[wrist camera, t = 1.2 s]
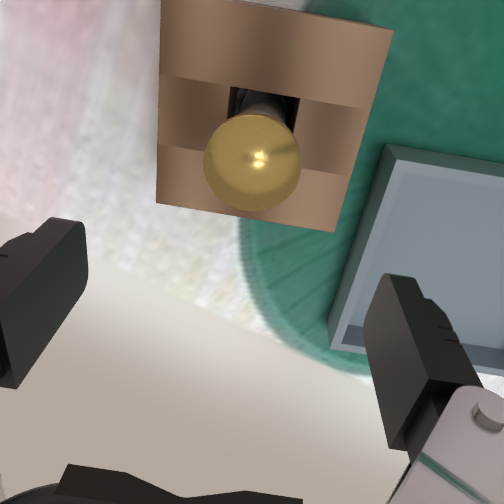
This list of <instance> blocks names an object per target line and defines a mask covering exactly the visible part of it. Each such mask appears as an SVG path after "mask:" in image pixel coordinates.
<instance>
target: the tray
mask: <svg viewBox="0 0 504 504" xmlns="http://www.w3.org/2000/svg"><path fill="white" fill-rule="evenodd" d="M384 273H390V274H396V275H402V276H408V277H413V278H415V279H416V281H417V283H418V285H419V287H420V289H421V291H422V293H423V296H424V298H427V299H432V300H433V301H434V302H435V303H436V304H437V305H438V306H439V307H440V308H441V309H442V310H443V311H444V312H445V313H446V315H447V317H448V319H449V321H450V323H451V325H452V327H453V331H455V332H456V334H457V336H458V338H459V340H460V344H462V346H463V348H464V350H465V352H466V354H467V356H468V358H469V360H470V362H471V364H472V366H473V367H474V369H475V371H476V372H478V373H485V374H491V375H497V376H503V377H504V164H503V163H497V162H492V161H486V160H480V159H474V158H468V157H462V156H457V155H451V154H445V153H439V152H433V151H428V150H422V149H416V148H410V147H404V146H398V145H393V144H387V143H386V144H385V147H384V150H383V153H382V156H381V159H380V162H379V165H378V168H377V171H376V174H375V177H374V180H373V183H372V186H371V189H370V192H369V195H368V198H367V201H366V204H365V207H364V210H363V213H362V216H361V219H360V222H359V225H358V228H357V231H356V235H355V238H354V241H353V244H352V247H351V250H350V253H349V256H348V259H347V262H346V265H345V268H344V271H343V274H342V277H341V280H340V283H339V286H338V289H337V292H336V295H335V298H334V301H333V304H332V307H331V310H330V313H329V316H328V319H327V330H328V338H329V346H330V349H336V350H342V351H348V352H354V353H360V354H367V352H366V348H365V344H364V339H363V325H364V320H365V316H366V314H367V311H368V309H369V306H370V303H371V301H372V298H373V296H374V293H375V291H376V288H377V286H378V283H379V281H380V279H381V277H382V275H383V274H384Z"/></svg>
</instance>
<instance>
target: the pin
mask: <svg viewBox="0 0 504 504" xmlns="http://www.w3.org/2000/svg"><path fill="white" fill-rule="evenodd" d="M203 167H204V173H205V177H206V180H207V182H208V184H209V186H210V188H211V189H212V191H213V192H214V193H215V194H216V195H217V196H218V198H220V199H221V200H222V201H223V202H225V203H226V204H228V205H230V206H232V207H234V208H237V209H240V210H244V211H263V210H267V209H270V208H273V207H275V206H277V205H279V204H280V203H282V202H283V201H284V200H286V199H287V198H288V197H289V196H290V194H291V193H292V192H293V191H294V189H295V187H296V185H297V183H298V181H299V178H300V173H301V156H300V149H299V145H298V143H297V140H296V138H295V137H294V135H293V133H292V132H291V131H290V129H289V128H288V127H287V126H286V125H285V98H284V95H279V94H273V93H268V92H262V91H256V90H250V89H249V90H248V91H247V93H246V95H245V97H244V99H243V102H242V104H241V107H240V109H239V111H238V114H237V115H235V116H233V117H231V118H229V119H227V120H226V121H224V122H223V123H222V124H221V125H220V126H219V127H218V128H217V129H216V130H215V132H214V133H213V135H212V136H211V138H210V140H209V142H208V144H207V146H206V149H205V152H204V158H203Z"/></svg>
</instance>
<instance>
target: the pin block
mask: <svg viewBox="0 0 504 504" xmlns="http://www.w3.org/2000/svg"><path fill="white" fill-rule="evenodd" d="M393 33H394V30H391V29H388V28H384V27H381V26H377V25H374V24H369V23H363V22H358V21H352V20H346V19H341V18H335V17H329V16H324V15H318V14H313V13H307V12H301V11H296V10H290V9H284V8H279V7H273V6H267V5H262V4H256V3H251V2H245V1H239V0H161V23H160V62H159V102H158V141H157V180H156V203H160V204H166V205H172V206H178V207H184V208H190V209H196V210H202V211H208V212H214V213H220V214H226V215H232V216H238V217H244V218H250V219H256V220H262V221H268V222H274V223H280V224H286V225H292V226H298V227H304V228H310V229H316V230H322V231H328V232H335V228H336V225H337V221H338V218H339V215H340V211H341V208H342V205H343V201H344V198H345V195H346V191H347V188H348V184H349V181H350V178H351V174H352V171H353V168H354V164H355V161H356V158H357V154H358V151H359V148H360V144H361V141H362V137H363V134H364V131H365V127H366V124H367V121H368V117H369V114H370V111H371V107H372V104H373V101H374V97H375V94H376V90H377V87H378V84H379V80H380V77H381V74H382V70H383V67H384V64H385V60H386V57H387V54H388V50H389V47H390V43H391V40H392V37H393ZM238 87H239V88H245V89H250V90H256V91H262V92H268V93H273V94H279V95H285V96H291V97H294V102H293V107H292V113H291V118H290V123H289V129H290V131H291V132H292V133H293V135H294V137H295V138H296V140H297V143H298V145H299V149H300V156H301V173H300V178H299V181H298V183H297V185H296V187H295V189H294V191H293V192H292V193H291V194H290V196H289V197H288V198H287V199H286V200H284V201H283V202H282V203H280V204H279V205H277V206H275V207H273V208H270V209H267V210H263V211H244V210H240V209H237V208H234V207H232V206H230V205H228V204H226V203H225V202H223V201H222V200H221V199H220V198H218V196H217V195H216V194H215V193H214V192H213V191H212V189H211V188H210V186H209V184H208V182H207V180H206V177H205V173H204V167H203V158H204V152H205V149H206V146H207V144H208V142H209V140H210V138H211V136H212V135H213V133H214V132H215V130H216V129H217V128H218V127H219V126H220V125H221V124H222V123H223V122H224V121H226V120H227V119H229V118H231V117H233V116H235V109H236V101H237V93H238Z"/></svg>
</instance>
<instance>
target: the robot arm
mask: <svg viewBox="0 0 504 504" xmlns="http://www.w3.org/2000/svg"><path fill="white" fill-rule="evenodd" d="M87 280H88V259H87V246H86V234H85V227H84V224H83V223H82V222H79V221H73V220H67V219H61V218H55V217H51V218H49V219H48V220H47V221H46V222H45V223H43V224H42V225H41V226H40V227H39V228H38V229H37V230H36V231H35V232H34V233H29V232H27V233H25V234H22V235H20V236H18V237H16V238H13V239H11V240H9V241H7V242H6V243H5V244H4V245H3V246H2V247H0V387H4V388H11V389H17V388H18V387H19V385H20V384H21V383H22V381H23V380H24V378H25V377H26V375H27V374H28V372H29V370H30V369H31V368H32V366H33V365H34V363H35V362H36V361H37V359H38V358H39V356H40V355H41V353H42V352H43V350H44V349H45V347H46V346H47V344H48V343H49V342H50V340H51V339H52V337H53V336H54V334H55V333H56V331H57V330H58V328H59V327H60V326H61V324H62V323H63V321H64V320H65V318H66V317H67V315H68V314H69V312H70V311H71V309H72V308H73V307H74V305H75V304H76V302H77V301H78V299H79V298H80V296H81V295H82V293H83V291H84V290H85V287H86V284H87ZM363 339H364V344H365V348H366V352H367V357H368V361H369V365H370V370H371V374H372V378H373V382H374V387H375V391H376V395H377V399H378V404H379V408H380V413H381V417H382V421H383V425H384V430H385V434H386V438H387V443H388V447H389V449H396V450H402V451H407V452H408V455H409V459H410V462H409V464H408V466H407V467H406V469H405V470H404V472H403V474H402V476H401V477H400V479H399V481H398V483H397V484H396V486H395V488H394V490H393V492H392V493H391V495H390V497H389V499H388V501H387V502H386V504H504V399H503V398H502V397H500V396H499V395H497V394H495V393H493V392H492V391H489V390H487V389H484V387H483V385H482V383H481V381H480V379H479V377H478V375H477V373H476V371H475V369H474V367H473V366H472V364H471V362H470V360H469V358H468V356H467V354H466V352H465V350H464V348H463V346H462V344H460V340H459V338H458V336H457V334H456V332H455V331H453V327H452V325H451V323H450V321H449V319H448V317H447V315H446V313H445V312H444V311H443V310H442V309H441V308H440V307H439V306H438V305H437V304H436V303H435V302H434V301H433V300H432V299H427V298H424V296H423V293H422V291H421V289H420V287H419V285H418V283H417V281H416V279H415V278H413V277H408V276H402V275H396V274H390V273H384V274H383V275H382V277H381V279H380V281H379V283H378V286H377V288H376V291H375V293H374V296H373V298H372V301H371V303H370V306H369V309H368V311H367V314H366V316H365V320H364V325H363ZM0 504H303V499H298V498H291V497H285V496H278V495H271V494H265V493H258V492H252V491H239V492H231V493H222V494H214V495H206V496H199V497H190V498H183V497H179V496H176V495H174V494H172V493H170V492H167V491H165V490H163V489H161V488H159V487H157V486H154V485H152V484H150V483H148V482H146V481H144V480H141V479H139V478H137V477H135V476H133V475H130V474H128V473H125V472H119V471H112V470H106V469H99V468H93V467H85V466H79V465H72V464H68V465H67V467H66V469H65V471H64V473H63V476H62V478H61V480H60V482H59V483H55V484H49V485H46V486H41V487H37V488H34V489H31V490H28V491H25V492H22V493H20V494H17V495H15V496H13V497H11V498H8V499H6V498H5V494H4V489H3V485H2V481H1V475H0Z"/></svg>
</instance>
